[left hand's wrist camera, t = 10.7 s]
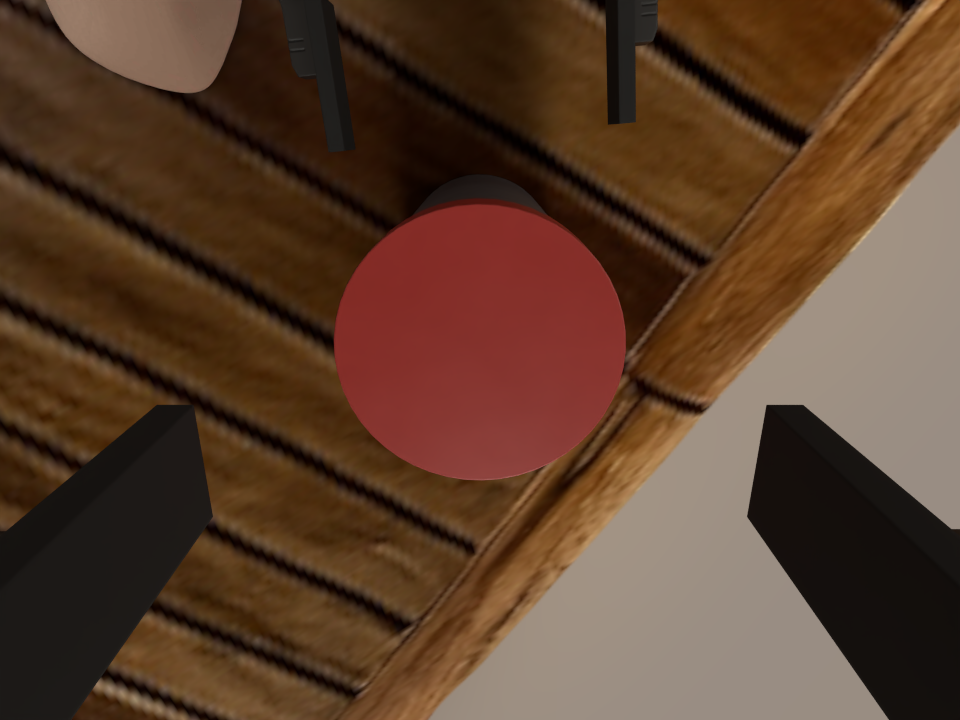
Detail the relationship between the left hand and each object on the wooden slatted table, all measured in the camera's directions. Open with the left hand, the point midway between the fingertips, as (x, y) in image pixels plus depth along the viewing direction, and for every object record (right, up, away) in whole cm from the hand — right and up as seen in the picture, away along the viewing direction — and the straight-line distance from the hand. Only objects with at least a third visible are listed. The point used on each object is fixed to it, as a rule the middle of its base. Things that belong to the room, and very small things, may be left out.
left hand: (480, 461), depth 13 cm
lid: (0, +3, +7) cm, 7 cm away
